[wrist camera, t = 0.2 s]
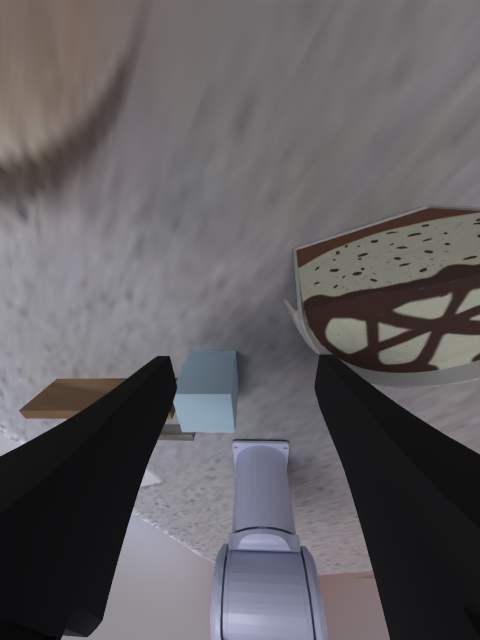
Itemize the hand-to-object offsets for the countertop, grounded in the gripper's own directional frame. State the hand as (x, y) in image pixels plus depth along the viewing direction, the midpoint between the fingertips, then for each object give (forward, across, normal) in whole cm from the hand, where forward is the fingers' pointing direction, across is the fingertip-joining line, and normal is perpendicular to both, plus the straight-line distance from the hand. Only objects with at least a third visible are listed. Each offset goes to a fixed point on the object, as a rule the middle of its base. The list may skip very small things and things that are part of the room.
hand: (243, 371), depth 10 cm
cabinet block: (+10, +4, +8) cm, 14 cm away
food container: (+10, -9, -3) cm, 14 cm away
